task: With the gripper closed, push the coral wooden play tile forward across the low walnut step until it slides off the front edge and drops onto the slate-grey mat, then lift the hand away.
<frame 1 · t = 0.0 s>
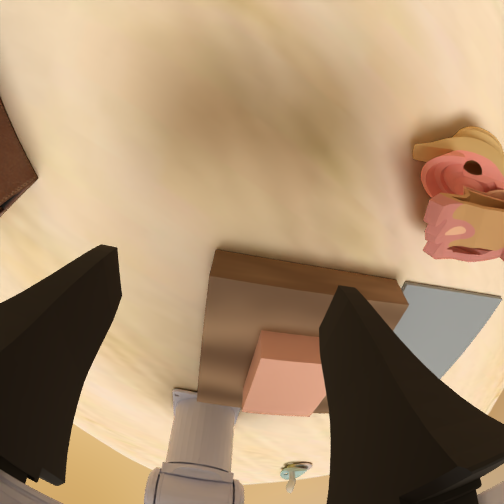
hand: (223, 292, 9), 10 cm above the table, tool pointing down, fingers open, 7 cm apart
tile: (287, 367, 23), point 3 cm above the table, touching step
mat: (421, 349, 26), on the table
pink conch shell: (445, 189, 18), on the table
step: (286, 339, 25), on the table
pacifier: (296, 464, 47), on the table
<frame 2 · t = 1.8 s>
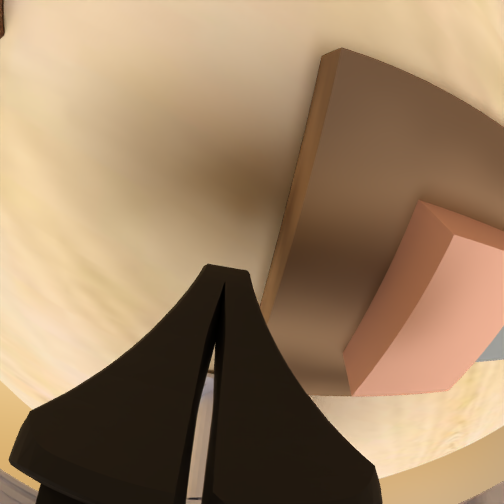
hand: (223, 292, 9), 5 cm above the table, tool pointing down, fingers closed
tile: (432, 297, 11), point 3 cm above the table, touching step
step: (408, 260, 14), on the table
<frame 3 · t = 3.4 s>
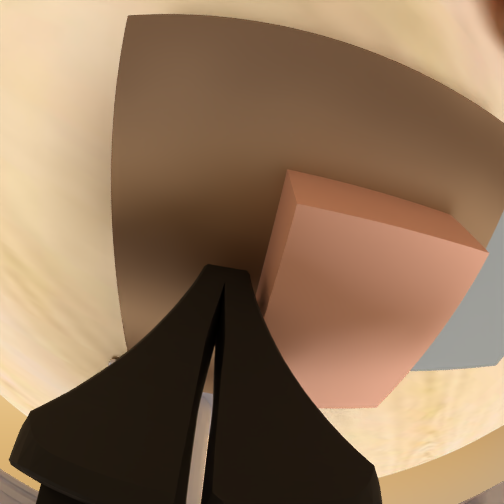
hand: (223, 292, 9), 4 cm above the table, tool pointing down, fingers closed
tile: (340, 293, 10), point 3 cm above the table, touching step
step: (299, 245, 13), on the table
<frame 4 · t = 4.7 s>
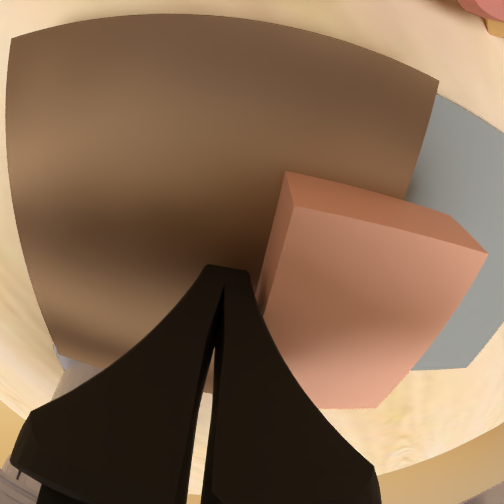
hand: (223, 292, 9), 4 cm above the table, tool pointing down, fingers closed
tile: (339, 294, 10), point 3 cm above the table, touching gripper, step
mat: (464, 276, 14), on the table
step: (187, 224, 13), on the table
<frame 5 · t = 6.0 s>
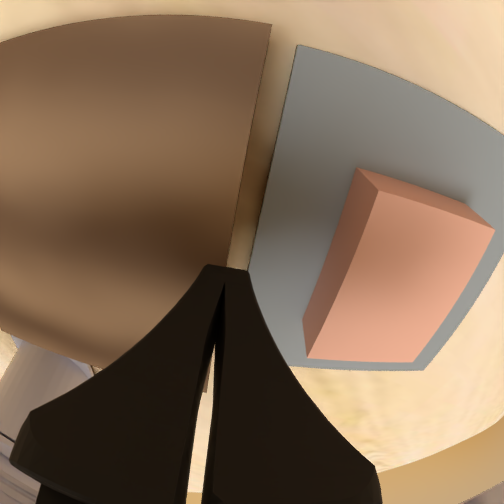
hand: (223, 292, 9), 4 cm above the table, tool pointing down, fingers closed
tile: (404, 300, 11), point 3 cm above the table, tilted 180°, touching mat
mat: (396, 263, 13), on the table
step: (85, 209, 12), on the table
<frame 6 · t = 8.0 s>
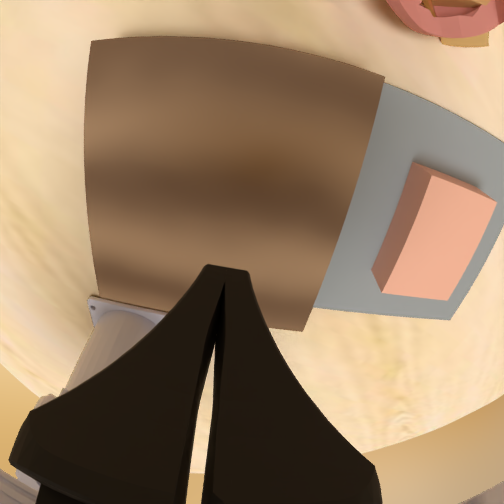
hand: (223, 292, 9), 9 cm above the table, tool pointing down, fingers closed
tile: (443, 247, 16), point 3 cm above the table, tilted 180°, touching mat
mat: (433, 228, 18), on the table
step: (216, 182, 17), on the table
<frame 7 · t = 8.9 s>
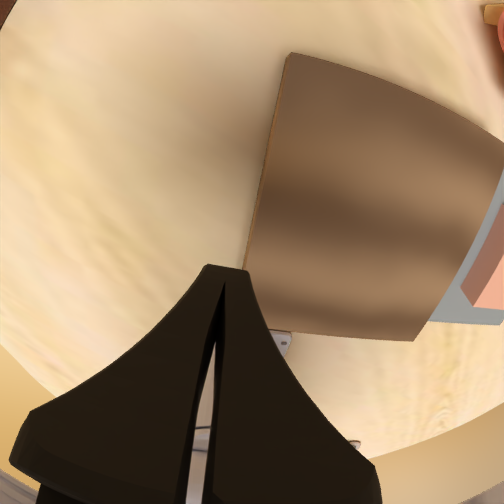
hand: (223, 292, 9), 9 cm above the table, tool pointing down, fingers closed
mat: (502, 253, 19), on the table
step: (366, 214, 18), on the table
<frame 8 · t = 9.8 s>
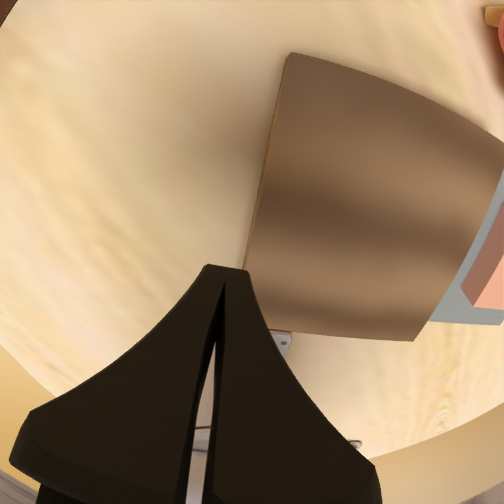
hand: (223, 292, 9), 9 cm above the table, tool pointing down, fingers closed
mat: (502, 253, 19), on the table
step: (366, 214, 18), on the table
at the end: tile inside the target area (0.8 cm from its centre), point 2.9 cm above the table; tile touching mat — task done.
